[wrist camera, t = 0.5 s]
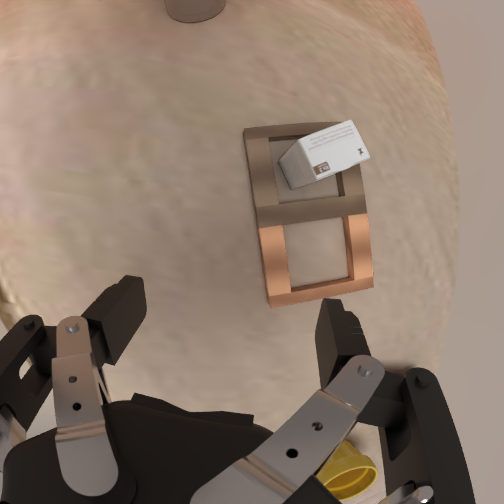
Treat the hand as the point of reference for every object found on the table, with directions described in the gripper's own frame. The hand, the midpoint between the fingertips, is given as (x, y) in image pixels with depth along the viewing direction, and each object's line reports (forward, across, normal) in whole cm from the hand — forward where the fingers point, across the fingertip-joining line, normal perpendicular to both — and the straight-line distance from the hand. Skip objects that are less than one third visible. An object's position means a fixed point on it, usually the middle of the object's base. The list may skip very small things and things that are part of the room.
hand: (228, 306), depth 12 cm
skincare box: (+27, -5, -3) cm, 28 cm away
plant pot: (+15, -17, +41) cm, 47 cm away
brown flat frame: (+25, -6, +2) cm, 26 cm away
